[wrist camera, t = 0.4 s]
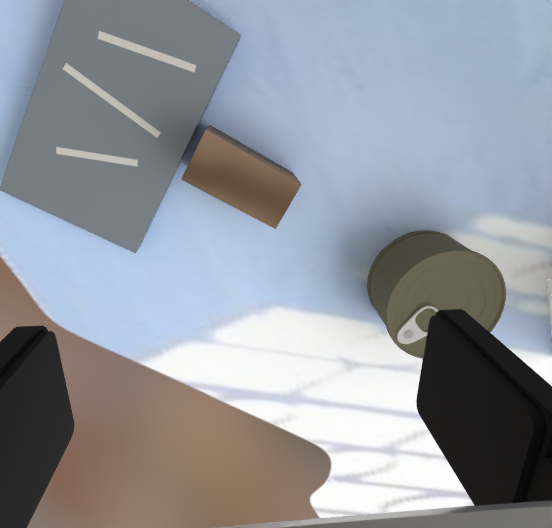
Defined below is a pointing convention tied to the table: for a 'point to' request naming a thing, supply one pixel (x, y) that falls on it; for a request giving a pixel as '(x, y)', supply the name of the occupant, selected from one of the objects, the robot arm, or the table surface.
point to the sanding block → (241, 177)
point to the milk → (550, 299)
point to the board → (116, 111)
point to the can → (432, 286)
